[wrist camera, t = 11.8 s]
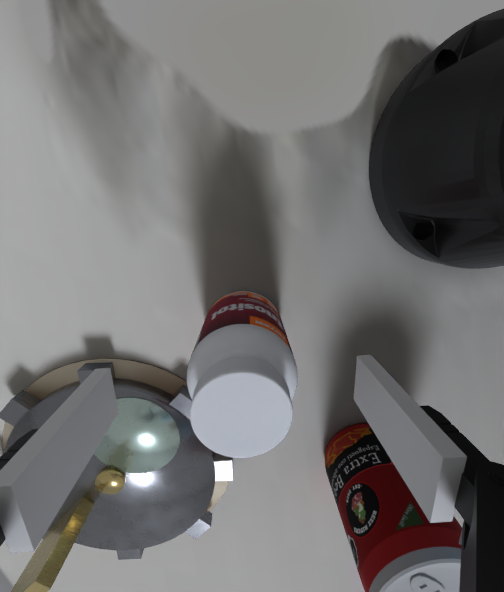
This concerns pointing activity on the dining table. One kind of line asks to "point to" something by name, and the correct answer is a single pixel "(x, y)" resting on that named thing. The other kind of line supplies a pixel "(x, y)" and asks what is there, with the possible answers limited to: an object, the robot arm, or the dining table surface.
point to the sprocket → (125, 476)
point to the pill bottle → (242, 377)
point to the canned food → (388, 520)
